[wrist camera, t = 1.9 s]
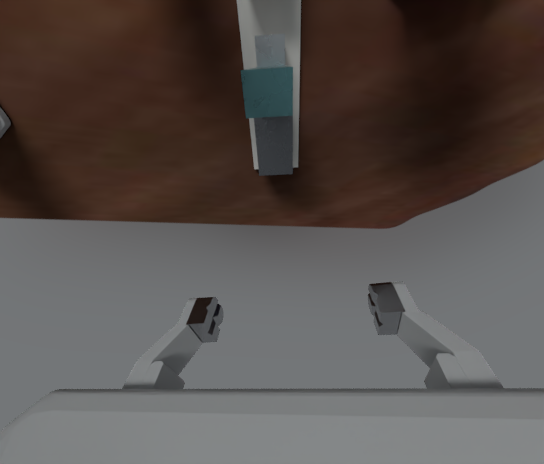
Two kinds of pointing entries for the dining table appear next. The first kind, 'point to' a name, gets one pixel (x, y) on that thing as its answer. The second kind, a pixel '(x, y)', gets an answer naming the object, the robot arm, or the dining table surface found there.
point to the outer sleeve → (274, 145)
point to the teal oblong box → (268, 80)
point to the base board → (285, 20)
